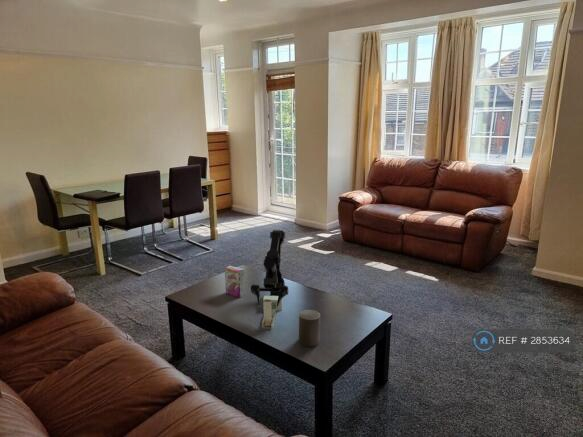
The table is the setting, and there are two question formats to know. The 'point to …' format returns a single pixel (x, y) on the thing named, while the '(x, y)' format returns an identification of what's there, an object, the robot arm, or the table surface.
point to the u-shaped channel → (271, 322)
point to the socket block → (274, 302)
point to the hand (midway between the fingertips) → (268, 306)
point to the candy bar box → (235, 281)
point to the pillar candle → (309, 328)
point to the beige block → (268, 312)
